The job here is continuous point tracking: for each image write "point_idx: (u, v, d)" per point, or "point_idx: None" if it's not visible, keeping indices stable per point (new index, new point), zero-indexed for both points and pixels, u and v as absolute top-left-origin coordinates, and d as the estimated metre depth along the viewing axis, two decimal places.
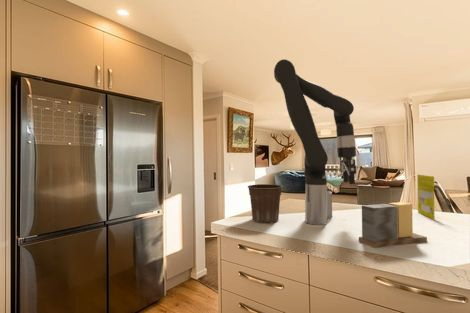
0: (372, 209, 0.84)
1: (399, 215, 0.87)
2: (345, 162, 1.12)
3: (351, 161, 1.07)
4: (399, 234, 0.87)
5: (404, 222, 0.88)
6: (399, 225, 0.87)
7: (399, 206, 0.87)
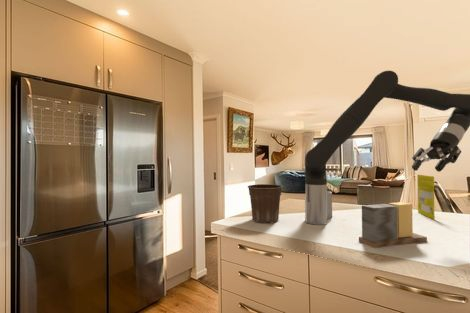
0: (372, 209, 0.84)
1: (399, 215, 0.87)
2: (441, 148, 0.93)
3: (458, 149, 0.88)
4: (399, 234, 0.87)
5: (404, 222, 0.88)
6: (399, 225, 0.87)
7: (399, 206, 0.87)
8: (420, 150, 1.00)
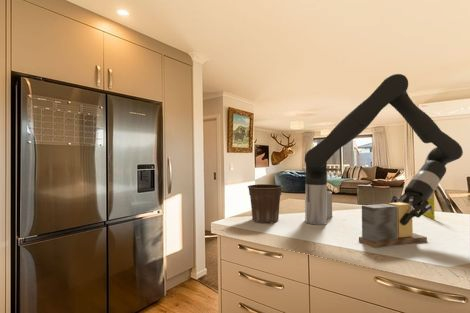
0: (372, 209, 0.84)
1: (399, 215, 0.87)
2: (414, 199, 0.89)
3: (428, 205, 0.85)
4: (399, 234, 0.87)
5: None
6: (399, 225, 0.87)
7: (399, 206, 0.87)
8: (394, 198, 0.96)
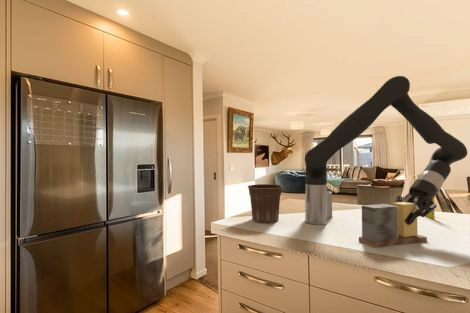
0: (372, 209, 0.84)
1: (404, 215, 0.88)
2: (419, 198, 0.90)
3: (433, 204, 0.85)
4: (404, 233, 0.88)
5: None
6: (404, 225, 0.88)
7: (404, 206, 0.88)
8: (399, 198, 0.96)
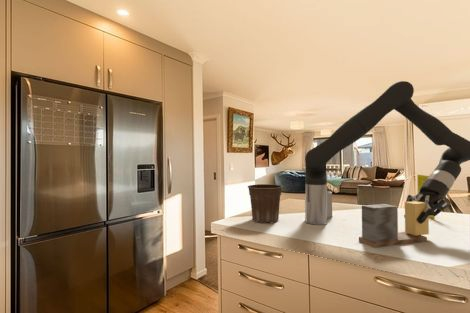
0: (372, 209, 0.84)
1: (416, 214, 0.89)
2: (430, 198, 0.91)
3: (444, 203, 0.87)
4: (416, 232, 0.89)
5: None
6: (416, 223, 0.89)
7: (416, 205, 0.89)
8: (409, 197, 0.98)
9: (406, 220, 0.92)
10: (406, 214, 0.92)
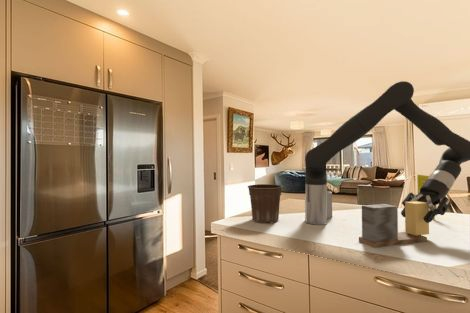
0: (372, 209, 0.84)
1: (416, 214, 0.89)
2: (430, 197, 0.91)
3: (447, 200, 0.87)
4: (416, 232, 0.89)
5: (421, 220, 0.90)
6: (416, 223, 0.89)
7: (416, 205, 0.89)
8: (410, 195, 0.99)
9: (406, 220, 0.92)
10: (406, 214, 0.92)
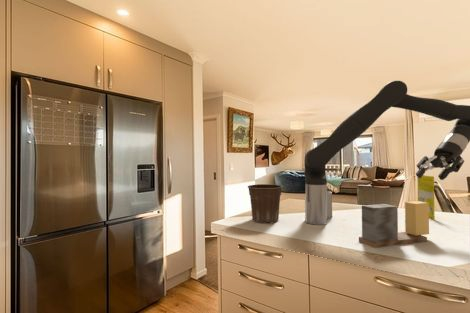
0: (372, 209, 0.84)
1: (416, 214, 0.89)
2: (445, 157, 0.97)
3: (461, 159, 0.92)
4: (416, 232, 0.89)
5: (421, 220, 0.90)
6: (416, 223, 0.89)
7: (416, 205, 0.89)
8: (424, 158, 1.04)
9: (406, 220, 0.92)
10: (406, 214, 0.92)
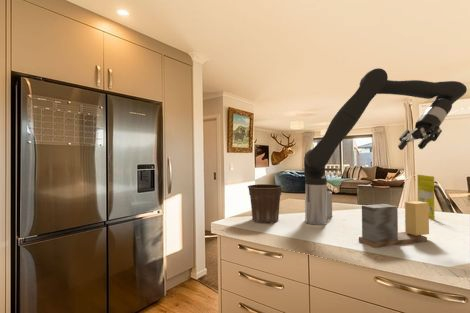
0: (372, 209, 0.84)
1: (416, 214, 0.89)
2: (424, 129, 1.02)
3: (439, 129, 0.97)
4: (416, 232, 0.89)
5: (421, 220, 0.90)
6: (416, 223, 0.89)
7: (416, 205, 0.89)
8: (406, 132, 1.09)
9: (406, 220, 0.92)
10: (406, 214, 0.92)
